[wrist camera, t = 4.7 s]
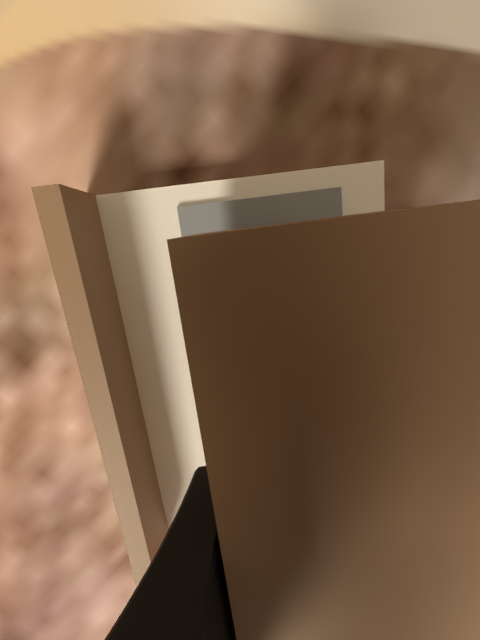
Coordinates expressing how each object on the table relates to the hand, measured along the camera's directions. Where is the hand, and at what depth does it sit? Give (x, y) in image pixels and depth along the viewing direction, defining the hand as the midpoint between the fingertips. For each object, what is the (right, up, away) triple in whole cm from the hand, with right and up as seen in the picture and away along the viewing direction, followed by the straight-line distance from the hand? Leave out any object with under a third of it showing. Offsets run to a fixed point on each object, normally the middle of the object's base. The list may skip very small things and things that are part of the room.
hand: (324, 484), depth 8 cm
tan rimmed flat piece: (-2, +2, +8) cm, 8 cm away
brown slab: (0, +1, +5) cm, 5 cm away
